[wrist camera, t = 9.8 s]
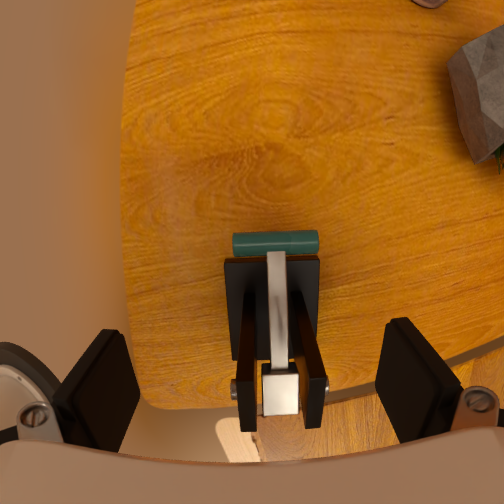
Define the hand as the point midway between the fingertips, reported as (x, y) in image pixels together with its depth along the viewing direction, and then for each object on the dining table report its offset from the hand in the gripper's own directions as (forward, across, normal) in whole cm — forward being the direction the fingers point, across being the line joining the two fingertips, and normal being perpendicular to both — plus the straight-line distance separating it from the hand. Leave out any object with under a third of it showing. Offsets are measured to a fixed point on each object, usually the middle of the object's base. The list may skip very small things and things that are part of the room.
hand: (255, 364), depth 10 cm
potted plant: (+17, -24, -12) cm, 32 cm away
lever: (+9, -1, +3) cm, 10 cm away
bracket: (+17, -1, +7) cm, 19 cm away
